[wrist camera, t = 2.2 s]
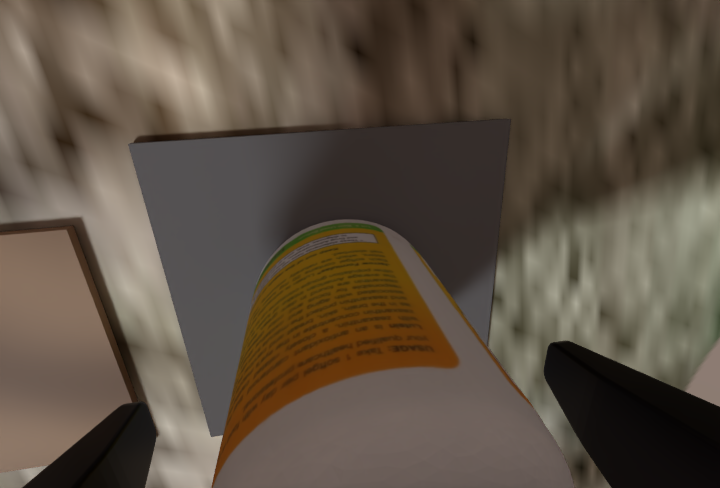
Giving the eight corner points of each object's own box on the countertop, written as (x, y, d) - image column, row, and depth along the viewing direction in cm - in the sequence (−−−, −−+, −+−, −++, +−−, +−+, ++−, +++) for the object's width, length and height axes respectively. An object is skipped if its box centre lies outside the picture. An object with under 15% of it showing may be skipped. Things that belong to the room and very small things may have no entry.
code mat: (479, 390, 14) (481, 394, 14) (212, 432, 13) (211, 436, 13) (507, 118, 10) (510, 119, 10) (131, 142, 9) (128, 144, 9)
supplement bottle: (224, 330, 11) (-37, 1167, 3) (309, 180, 10) (388, 852, 1) (369, 385, 13) (516, 1001, 4) (459, 264, 12) (948, 793, 3)
